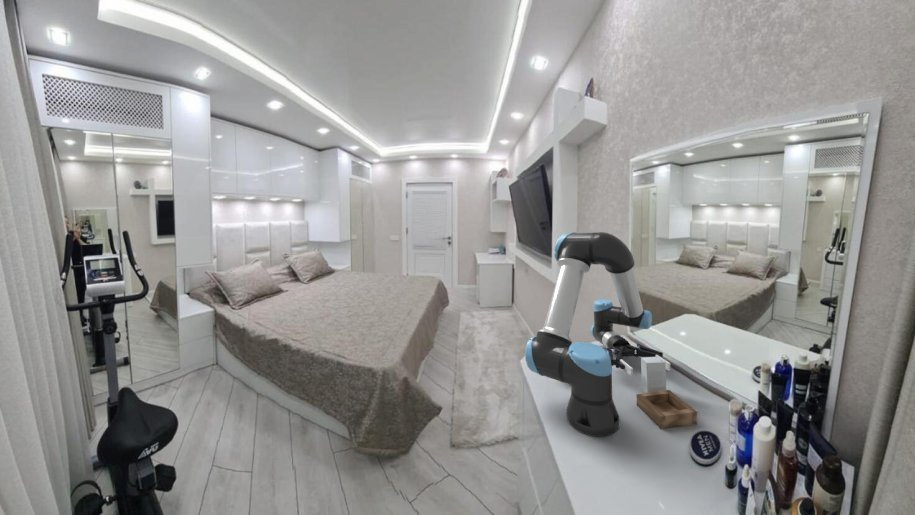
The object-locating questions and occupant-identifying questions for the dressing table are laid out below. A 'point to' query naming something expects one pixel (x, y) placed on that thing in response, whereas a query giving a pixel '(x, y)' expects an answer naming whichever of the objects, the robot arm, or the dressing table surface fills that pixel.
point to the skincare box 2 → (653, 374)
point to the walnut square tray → (666, 409)
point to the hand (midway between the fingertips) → (650, 369)
